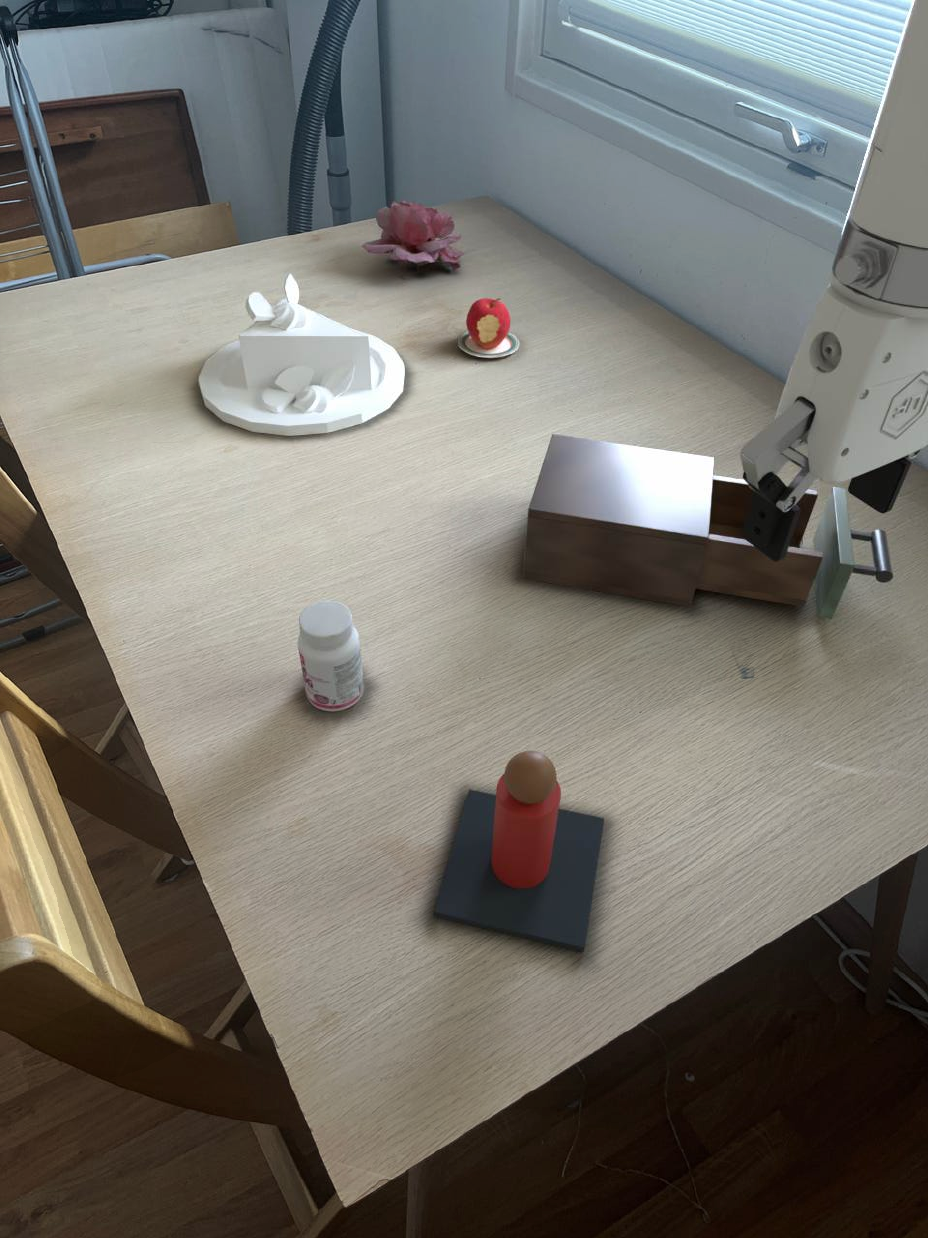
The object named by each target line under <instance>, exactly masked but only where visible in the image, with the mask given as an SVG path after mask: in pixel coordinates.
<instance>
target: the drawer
mask: <svg viewBox="0 0 928 1238" xmlns="http://www.w3.org/2000/svg"><path fill="white" fill-rule="evenodd" d="M753 493H754V491H753V490H752V489H750V488H749V484H748V483H747V482H746V481H745V480H744V479H743V478H735V477H728V476H722V475H714V474H713V487H712V502H711V516H710V530H709V540H708V543H707V547H706V551H705V555H704V558H703V562H702V566H701V570H700V573H699V577H698V581H697V585H696V588H695V590H702V591H707V592H714V593H719V594H725V595H732V596H738V597H744V598H748V599H754V600H760V601H767V602H773V603H779V604H784V605H789V606H796V607H803V608H804V607H805V604H806V602H807V599H808V597H809V594H810V592H811V589H812V586H813V584H814V582H815V586H816V587H815V588H816V602H817V603H816V604H817V616H818V618H822V619H828V620H833V618H834V617H835V616H834V615H835V614H836V611H837V608H838V606H839V604H840V601H841V599H842V596H843V594H844V592H845V590H846V587H847V585H848V583H849V580H850V578H851V576H852V574H858V575H863V576H869V577H875V580H876V581H877V582H878V583H882V584H885V583H889V582H891V581H892V580H893V578H894V572H893V565H892V560H891V559H892V558H891V554H890V547H889V541H888V535H887V532H886V531H885V530H883V529H875V530H873V531H872V532H866V531H859V530H852V529H851V523H850V522H851V521H850V513H849V506H848V505H849V504H848V497H847V495H848V494H847V489H846V488H843V487H837V486H832V488H831V491H830V493H829V495H828V499H827V501H826V503H825V507H824V509H823V511H822V515H821V517H820V520H819V522H818V526H817V528H816V531H815V532H814V535H813V538H812V543H813V549H807V548H804V539H803V537H804V535H805V532H806V530H807V526H808V524H809V521H810V519H811V516H812V513H813V511H814V508H815V505H816V501H817V499H818V497H819V490H816V489H810V488H809V489H808V490H807V491H806V492H805V494H804V495H803V496H802V497H801V498H800V500H799V501H798V502H797V503H796V505H797V506H798V507H799V508H800V509H801V512H800V515H799V518H798V521H797V524H796V527H795V530H794V533H793V536H792V538H791V541H790V544H789V547H788V550H787V553H786V556H785V558H784V559H782V560H780V561H777V562H775V561H773V560H772V559H770V558H769V557H768V556H766V555H765V554H764V553H762V552H761V551H760V550H758V549H757V548H756V547H754V546H753V545H752V544H751V543H749V542H748V541H747V540H745V539H744V537H743V535H742V531H743V527H744V524H745V521H746V517H747V514H748V510H749V507H750V503H751V500H752V497H753ZM853 540H857V541H863V542H870V548H871V556H872V562H873V566H869V565H862V564H856V563H855V555H854V548H853V547H854V546H853Z"/></svg>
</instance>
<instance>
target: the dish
mask: <svg viewBox="0 0 928 1238" xmlns="http://www.w3.org/2000/svg"><path fill="white" fill-rule="evenodd" d="M283 284H284V285H283V290H284V295H285V297H283V298H282V299H281V300H279V302H277V303H276V304H275V305H274V306H271V305H270V303H269V302H268V301H267V299H266V298H265V297H264V296H263V295H262V293H261V292H260V291H256V292H251V294H250V295H249V296H248V297H247V298H246V299H245V309H246V312H247V314H248V316H249V317H250V319H251V320H252V321H253V323H252V324H251V325H250V326H248V327H247V328H246V329H245V330H244V331H242V332H241V333H240V334H239V335H238V339H236V340H234V341H232V342H230V343H228V344H225V345H223V346H222V347H221V348H220V349H219V350H218V351H216V352H215V353H214V354H212V355H211V356H210V357H209V358H208V359H206V360H205V362H204V365H203V366H202V368H201V371H200V373H199V376H198V377H197V380H198V385H199V389H200V393H201V395H202V400H203V403H204V406H205V407H206V408H207V409H208V410H209V411H210V412H212V413H213V414H214V415H215V416H216V417H218V418H219V419H220V420H221V421H222V422H224V423H227V424H229V425H232V426H235V427H238V428H241V429H244V430H246V431H249V432H252V433H258V434H259V433H260V434H268V435H275V436H276V435H277V436H287V437H294V436H295V437H296V436H307V435H318V434H329V433H333V432H336V431H340V430H343V429H347V428H351V427H355V426H358V425H362V424H364V423H365V422H367V421H369V420H371V419H373V418H374V417H376V416H378V415H380V414H382V413H383V412H385V411H387V410H388V409H390V407H392V405H393V404H394V403H395V401H397V399H398V398H399V396H400V395H401V394H402V393H403V392H404V384H405V375H406V373H405V372H406V371H405V363H404V361H403V359H402V357H400V355H399V353H398V352H397V350H396V348H394V347H393V346H391V345H390V344H388V343H386V342H385V341H383V340H382V339H380V338H379V337H377V336H375V335H373V334H369V333H365V332H362V331H360V330H356V329H353V328H351V327H349V326H347V325H344V324H343V323H340V322H338V321H336V320H334V319H332V318H329V317H327V316H325V315H323V314H320V313H319V312H316V311H314V310H312V309H309V308H308V307H305V306H303V305H301V304H299V303H298V302H299V299H300V289H299V285H298V283H297V282H296V279H295V278H294V277H293V275H292V274H291V273H288V274H287V276H286V278H285V280H284V283H283Z"/></svg>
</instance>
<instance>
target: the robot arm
mask: <svg viewBox="0 0 928 1238" xmlns="http://www.w3.org/2000/svg"><path fill="white" fill-rule="evenodd" d="M891 66H892V67H891V69H890V72H889V76H888V79H887V84H886V86H885V90H884V93H883V96H882V98H881V99H882V100H881V103H880V107H879V109H878V112H877V116H876V120H875V122H874V127H873V129H872V132H871V135H870V139H869V142H868V146H867V149H866V153H865V155H864V160H863V162H862V165H861V166H862V167H861V170H860V172H859V176H858V178H857V179H858V180H857V183H856V186H855V190H854V193H853V196H852V200H851V203H850V206H849V210H848V213H847V216H846V218H845V219H846V220H845V222H844V226H843V229H842V232H841V234H840V235H841V237H840V239H839V242H838V246H837V249H836V252H835V256H834V259H833V262H832V265H831V269H830V271H829V274H828V275H829V276H828V280H829V284H828V285H827V286H826V287H825V289H824V290H823V293H822V295H821V296H820V299H819V301H818V303H817V305H816V307H815V309H814V311H813V314H812V316H811V318H810V320H809V323H808V325H807V327H806V330H805V332H804V334H803V337H802V339H801V341H800V344H799V346H798V349H797V352H796V354H795V356H794V359H793V362H792V365H791V367H790V370H789V373H788V376H787V378H786V382H785V384H784V387H783V389H782V393H781V396H780V400H779V403H778V406H777V410H776V413H775V417H774V420H773V421H771V422H770V423H769V424H768V425H766V426H765V427H764V428H763V429H762V430H761V431H759V432H758V433H757V434H756V435H755V436H754V437H753V438H751V439H750V440H749V441H748V442H746V443H745V444H743V446H742V448H741V449H740V452H739V456H740V461H741V466H742V471H743V473H742V479H743V480H745V481H746V482H747V483H748V484H749V488H750V489H752V490H753V491H754V493H753V497H752V500H751V503H750V507H749V510H748V514H747V517H746V521H745V524H744V527H743V531H742V535H743V537H744V539H745V540H747V541H748V542H749V543H751V544H752V545H753V546H754V547H756V548H757V549H758V550H760V551H761V552H762V553H764V554H765V555H766V556H768V557H769V558H770V559H772V560H773V561H775V562H777V561H780V560H782V559H784V558H785V556H786V553H787V550H788V547H789V544H790V541H791V538H792V536H793V533H794V530H795V527H796V524H797V521H798V518H799V515H800V512H801V509H800V508H799V507H798V506H797V505H796V503H797V502H798V501H799V500H800V498H801V497H802V496H803V495H804V494H805V492H806V491H807V490H808V489H810V487H812V485H813V484H814V483H815V481H816V480H817V479H819V481H820V482H822V483H824V484H827V485H829V484H830V485H831V484H837V483H843V482H845V481H847V480H850V481H849V483H848V488H847V492H848V493H849V495H851V496H853V497H854V498H856V499H858V500H859V501H861V502H862V503H864V504H866V505H867V506H868V507H870V508H871V509H872V510H875V511H876V512H878V513H880V514H887V513H888V512H890V511H892V509H893V508H894V505H895V503H896V500H897V498H898V496H899V494H900V491H901V489H902V487H903V484H904V482H905V480H906V477H907V475H908V473H909V470H910V468H911V466H912V463H913V462H912V461H910V460H914V459H916V457H918V456H919V455H920V453H921V452H922V451H923V448H925V447H926V446H928V0H912V2H911V6H910V9H909V12H908V15H907V17H906V20H905V23H904V27H903V30H902V33H901V37H900V40H899V43H898V47H897V50H896V53H895V56H894V60H893V63H892V65H891ZM803 445H807V456H806V455H804V454H803V453H801V452H800V451H798V450H797V449H796V448H798V447H801V446H803ZM907 458H908V459H907ZM789 461H790V462H791V463H793V465H796V466H797V467H799V468H800V470H799V471H798V473H797V474H796V475H795V476H794V478H793V479H792V480H791V481H790V483H789V484H788V485H786V484H785V482H784V481H783V480H782V479H781V478H780V476H779V475H778V474H779V473H780V471H781V470H782V469H783V468H784V467H785V465H786V464H787V463H788V462H789Z"/></svg>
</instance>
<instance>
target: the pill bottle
mask: <svg viewBox="0 0 928 1238" xmlns="http://www.w3.org/2000/svg"><path fill="white" fill-rule="evenodd" d="M298 624H299V625H298V626H299V635H298V638H297V649H298V656H299V661H300V666H301V672H302V679H303V683H304V691H305V695H306V698H307V700H308V701H309V703H310V704H311V705H312V706H313V707H315V708H317V709H318V710H321V711H324V712H339V711H343V710H344V711H345V710H346V709H348V708H350V707H352V706H354V705H355V704H356V703H358V702H359V700H361V698H362V696H363V693H364V689H365V681H364V673H363V670H364V669H363V661H362V651H361V641H360V634H359V632H358V630H357V628H356V627H355V625H354V624H353V615H352V612H351V610H350V609H349V607H348V606H346V605H345V604H344V603H342V602H339V601H336V600H319V601H316V602H313V603H311V604H309V605H308V606H306V607H305V608H304V609H303V610H302V611H301V613H300V615H299V619H298Z"/></svg>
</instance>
